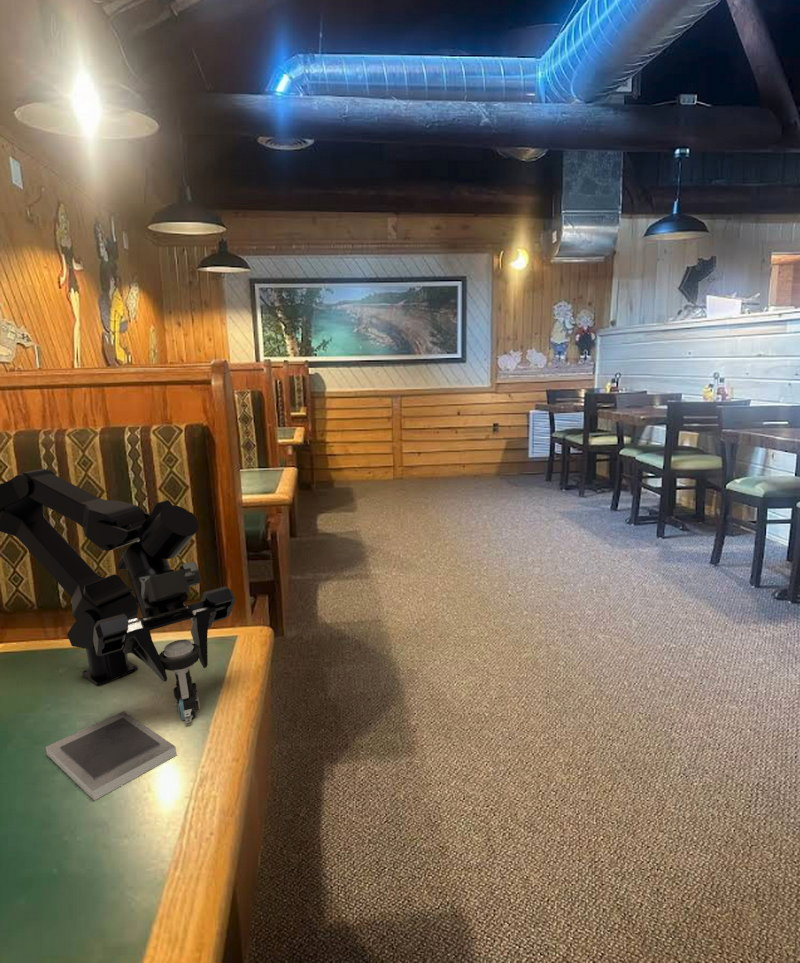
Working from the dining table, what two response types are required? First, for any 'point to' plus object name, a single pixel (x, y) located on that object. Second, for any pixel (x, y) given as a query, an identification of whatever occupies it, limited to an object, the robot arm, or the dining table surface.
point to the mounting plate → (110, 753)
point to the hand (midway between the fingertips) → (186, 673)
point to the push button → (182, 675)
